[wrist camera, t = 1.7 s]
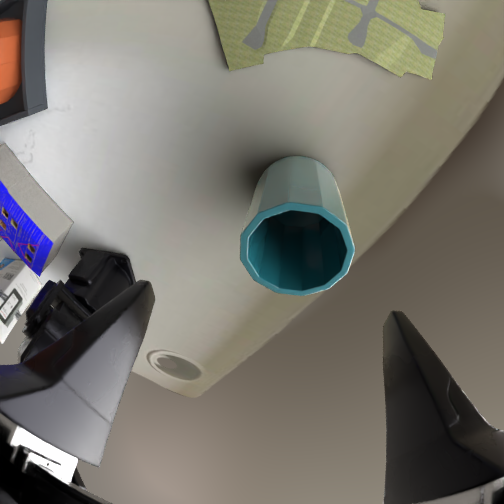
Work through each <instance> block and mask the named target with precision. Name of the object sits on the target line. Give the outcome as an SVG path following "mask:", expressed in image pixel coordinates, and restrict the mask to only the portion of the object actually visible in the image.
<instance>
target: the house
mask: <svg viewBox="0 0 504 504" xmlns="http://www.w3.org/2000/svg"><path fill="white" fill-rule="evenodd" d="M72 224H73V221H72V220H71V219H70V218H69V217H68V216H67V215H66V214H65V213H64V212H63V211H62V210H61V209H60V208H59V207H58V205H57V204H56V203H55V202H54V201H53V200H52V199H51V198H50V197H49V196H48V195H47V194H46V192H45V191H44V190H43V189H42V188H41V187H40V186H39V185H38V183H37V182H36V181H35V180H34V179H33V178H32V176H31V175H30V173H29V172H28V171H27V170H26V169H25V167H24V166H23V165H22V164H21V163H20V161H19V160H18V159H17V158H16V156H15V155H14V154H13V153H12V151H11V150H10V149H9V148H8V146H7V145H6V144H3V145H1V146H0V241H1V240H2V239H4V240H5V242H6V243H7V244H8V245H9V246H10V247H11V248H12V250H13V251H14V252H15V253H16V254H17V255H18V256H19V257H20V258H21V260H22V261H23V262H24V263H25V264H26V265H27V266H28V267H29V268H30V269H31V270H32V271H33V272H34V273H36V274H37V275H38V276H39V277H40V275H41V273H42V272H43V271H44V269H45V268H46V267H47V266H48V265H49V264H50V262H51V261H52V260H53V259H54V258H55V257H56V255H57V253H58V251H59V249H60V247H61V245H62V243H63V241H64V239H65V237H66V235H67V233H68V231H69V229H70V228H71V226H72Z"/></svg>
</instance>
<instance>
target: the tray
mask: <svg viewBox="0 0 504 504" xmlns="http://www.w3.org/2000/svg"><path fill="white" fill-rule="evenodd" d="M46 8H47V0H1V1H0V19H2V18H18V19H20V20H22V37H21V74H22V82H21V84H20V86H19V88H18V90H17V92H16V93H15V95H14V96H13V97H12V98H11V99H10V100H9V101H7V102H6V103H3V104H1V105H0V126H1V125H4V124H7V123H10V122H12V121H15V120H18V119H21V118H24V117H27V116H30V115H32V114H35V113H37V112H40V111H42V110H45V109H47V108H48V107H47V98H46V85H45V63H44V41H45V20H46Z"/></svg>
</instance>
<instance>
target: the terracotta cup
mask: <svg viewBox="0 0 504 504" xmlns="http://www.w3.org/2000/svg"><path fill="white" fill-rule="evenodd" d="M21 37H22V20H20V19H18V18H2V19H0V105H1V104H3V103H6V102H7V101H9V100H10V99H11V98H12V97H13V96H14V95H15V93H16V92H17V90H18V88H19V86H20V84H21V82H22V74H21Z"/></svg>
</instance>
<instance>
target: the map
mask: <svg viewBox="0 0 504 504" xmlns="http://www.w3.org/2000/svg"><path fill="white" fill-rule="evenodd" d="M208 1H209V4H210V7H211V10H212V13H213V16H214V19H215V23H216V26H217V29H218V33H219V36H220V40H221V43H222V47H223V50H224V54H225V57H226V61H227V64H228V68H229V71H232V70H236V69H241V68H245V67H250V66H254V65H259V64H263V59H264V54H268V53H273V52H277V51H283V50H288V49H295V48H301V47H308V46H311V47H317V48H322V49H327V50H332V51H337V52H341V53H346V54H352V53H358V54H360V55H362V56H364V57H366V58H368V59H370V60H372V61H373V62H375V63H377V64H379V65H380V66H382V67H384V68H385V69H387V70H389V71H390V72H392V73H394V74H396V75H397V76H399V77H402V76H403V74H404V73H405V72H406V71H407V72H410V73H413V74H416V75H419V76H422V77H425V78H428V79H430V80H432V72H433V68H434V64H435V60H436V55H437V50H438V45H439V44H440V42H441V41H442V40H443V38H444V37H443V27H444V17H445V14H442V13H437V12H433V11H428V10H423V9H421V7H420V4H419V2H418V0H208Z"/></svg>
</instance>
